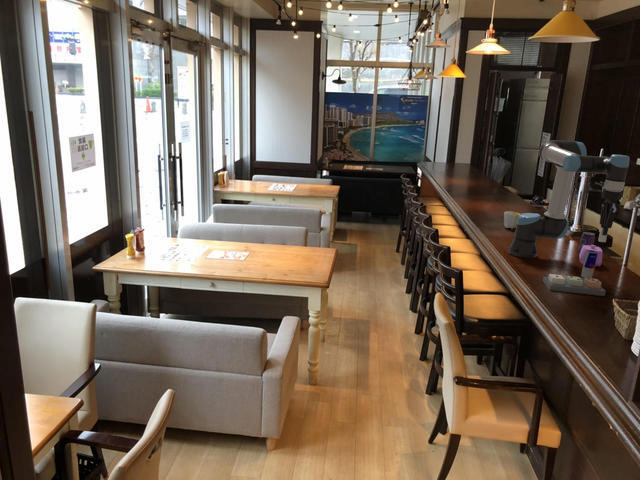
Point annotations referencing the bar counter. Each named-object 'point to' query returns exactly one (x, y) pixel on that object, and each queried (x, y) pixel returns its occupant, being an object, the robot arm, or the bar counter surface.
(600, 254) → the teapot
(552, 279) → the tile
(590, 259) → the grey blue tall box
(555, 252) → the bar counter surface
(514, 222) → the mug
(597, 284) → the tile
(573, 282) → the tile
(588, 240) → the beverage can
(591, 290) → the board
